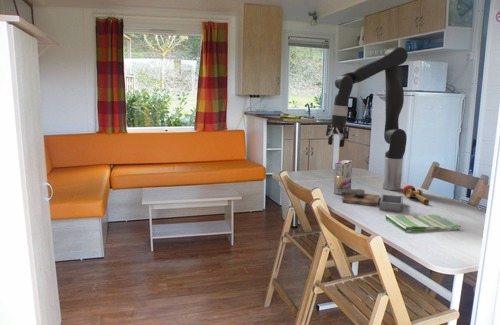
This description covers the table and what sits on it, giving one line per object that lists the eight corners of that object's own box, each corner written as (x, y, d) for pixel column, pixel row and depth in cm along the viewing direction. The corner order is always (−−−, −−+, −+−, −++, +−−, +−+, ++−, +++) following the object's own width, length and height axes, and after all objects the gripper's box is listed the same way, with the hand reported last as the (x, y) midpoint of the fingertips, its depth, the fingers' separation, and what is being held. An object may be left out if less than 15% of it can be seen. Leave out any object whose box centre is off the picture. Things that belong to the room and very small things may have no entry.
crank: (364, 195, 199) (365, 177, 197) (363, 197, 194) (364, 179, 193) (336, 192, 203) (337, 175, 202) (335, 194, 199) (336, 177, 198)
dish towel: (461, 231, 156) (462, 225, 155) (405, 234, 152) (406, 227, 151) (433, 217, 173) (434, 211, 173) (383, 219, 169) (383, 213, 169)
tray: (402, 203, 192) (402, 196, 192) (402, 212, 178) (402, 204, 177) (381, 201, 196) (381, 194, 195) (379, 209, 181) (379, 202, 181)
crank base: (379, 197, 202) (379, 194, 202) (377, 206, 187) (377, 202, 187) (346, 194, 207) (347, 191, 207) (342, 202, 193) (342, 199, 192)
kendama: (434, 207, 192) (413, 192, 209) (434, 195, 190) (413, 181, 207) (419, 210, 191) (399, 195, 208) (419, 198, 189) (399, 184, 206)
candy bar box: (342, 189, 218) (343, 159, 215) (351, 191, 215) (352, 160, 212) (333, 193, 209) (334, 162, 206) (342, 195, 206) (343, 163, 203)
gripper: (354, 116, 204) (350, 148, 207) (335, 114, 216) (331, 144, 219) (344, 115, 200) (339, 147, 203) (324, 113, 212) (321, 143, 215)
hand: (335, 145), depth 211 cm, fingers open, 8 cm apart
